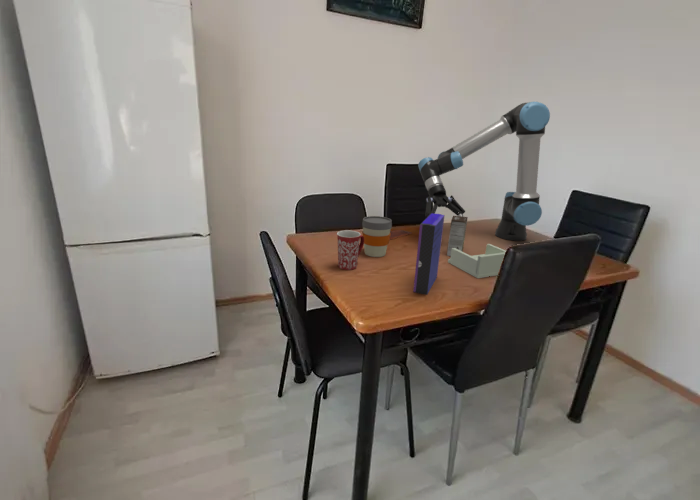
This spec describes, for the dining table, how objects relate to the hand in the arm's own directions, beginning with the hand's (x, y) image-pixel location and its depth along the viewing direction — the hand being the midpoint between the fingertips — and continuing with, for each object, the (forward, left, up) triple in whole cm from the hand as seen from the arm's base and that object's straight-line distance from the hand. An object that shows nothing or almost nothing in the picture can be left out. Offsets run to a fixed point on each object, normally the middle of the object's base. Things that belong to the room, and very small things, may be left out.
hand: (451, 229), depth 174 cm
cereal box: (+31, +27, -11) cm, 42 cm away
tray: (-1, +20, -10) cm, 23 cm away
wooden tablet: (+13, -30, -11) cm, 34 cm away
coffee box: (-1, +3, -11) cm, 11 cm away
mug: (+49, +2, -11) cm, 50 cm away
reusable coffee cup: (+33, -8, -11) cm, 36 cm away
